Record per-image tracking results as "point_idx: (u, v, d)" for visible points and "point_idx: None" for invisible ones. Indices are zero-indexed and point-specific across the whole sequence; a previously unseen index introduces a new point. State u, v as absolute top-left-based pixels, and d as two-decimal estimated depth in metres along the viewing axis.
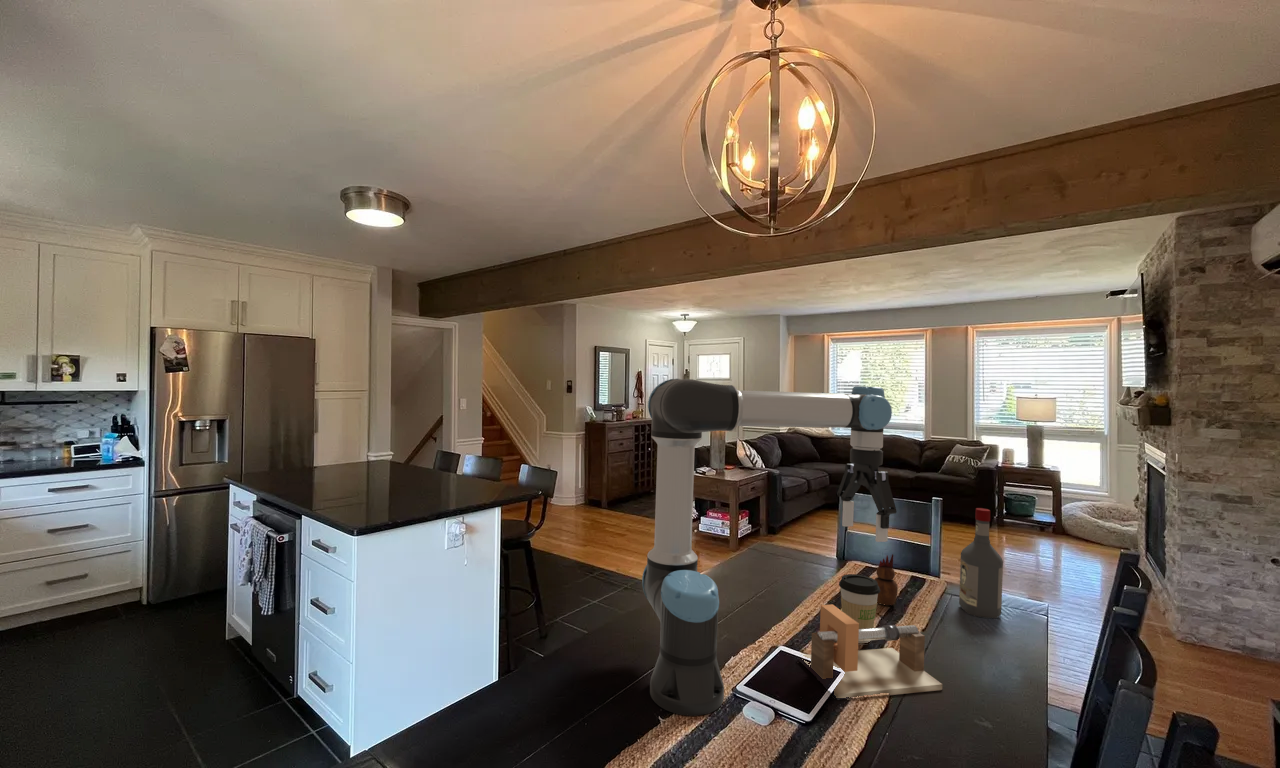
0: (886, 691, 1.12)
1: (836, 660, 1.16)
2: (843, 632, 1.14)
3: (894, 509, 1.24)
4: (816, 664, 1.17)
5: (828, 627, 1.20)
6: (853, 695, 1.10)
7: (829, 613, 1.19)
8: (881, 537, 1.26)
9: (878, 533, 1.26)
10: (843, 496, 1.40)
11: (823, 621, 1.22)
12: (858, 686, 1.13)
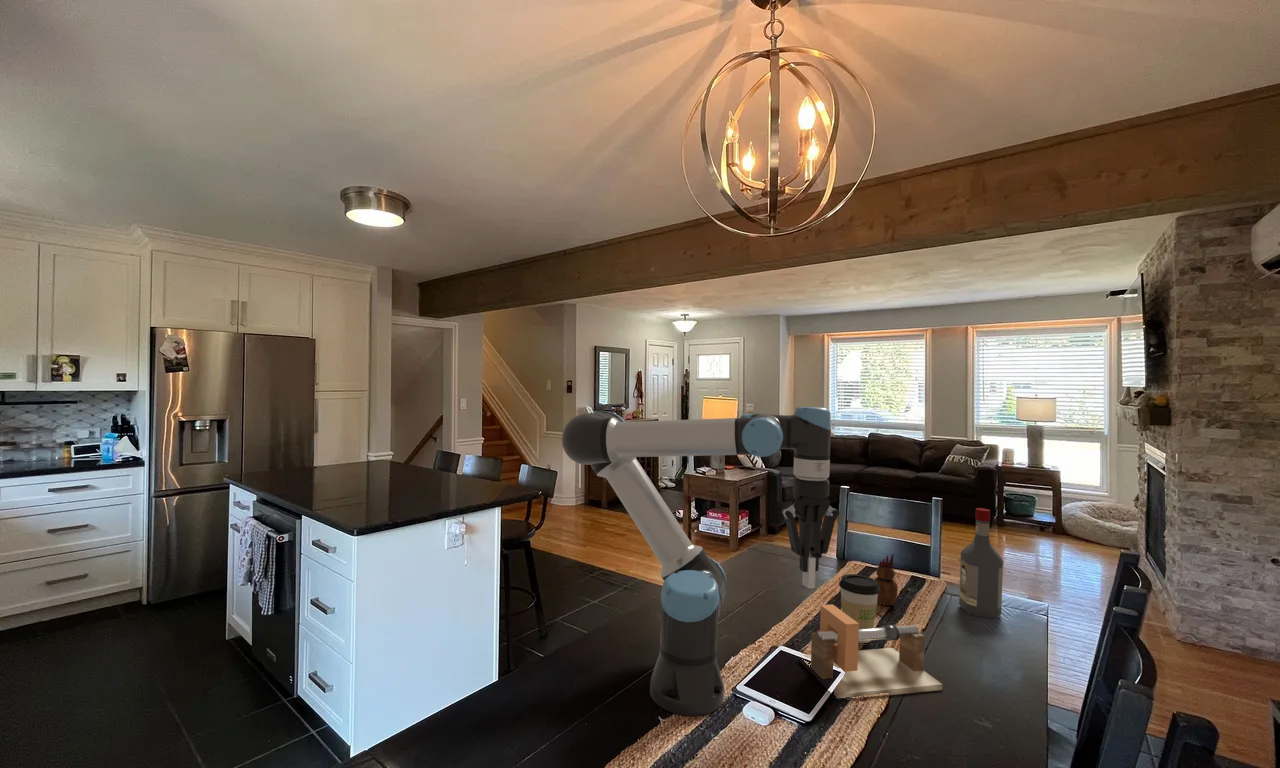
0: (886, 691, 1.12)
1: (836, 660, 1.16)
2: (843, 632, 1.14)
3: (795, 551, 1.15)
4: (816, 664, 1.17)
5: (828, 627, 1.20)
6: (853, 695, 1.10)
7: (829, 613, 1.19)
8: (804, 580, 1.17)
9: (803, 575, 1.17)
10: None
11: (823, 621, 1.22)
12: (858, 686, 1.13)
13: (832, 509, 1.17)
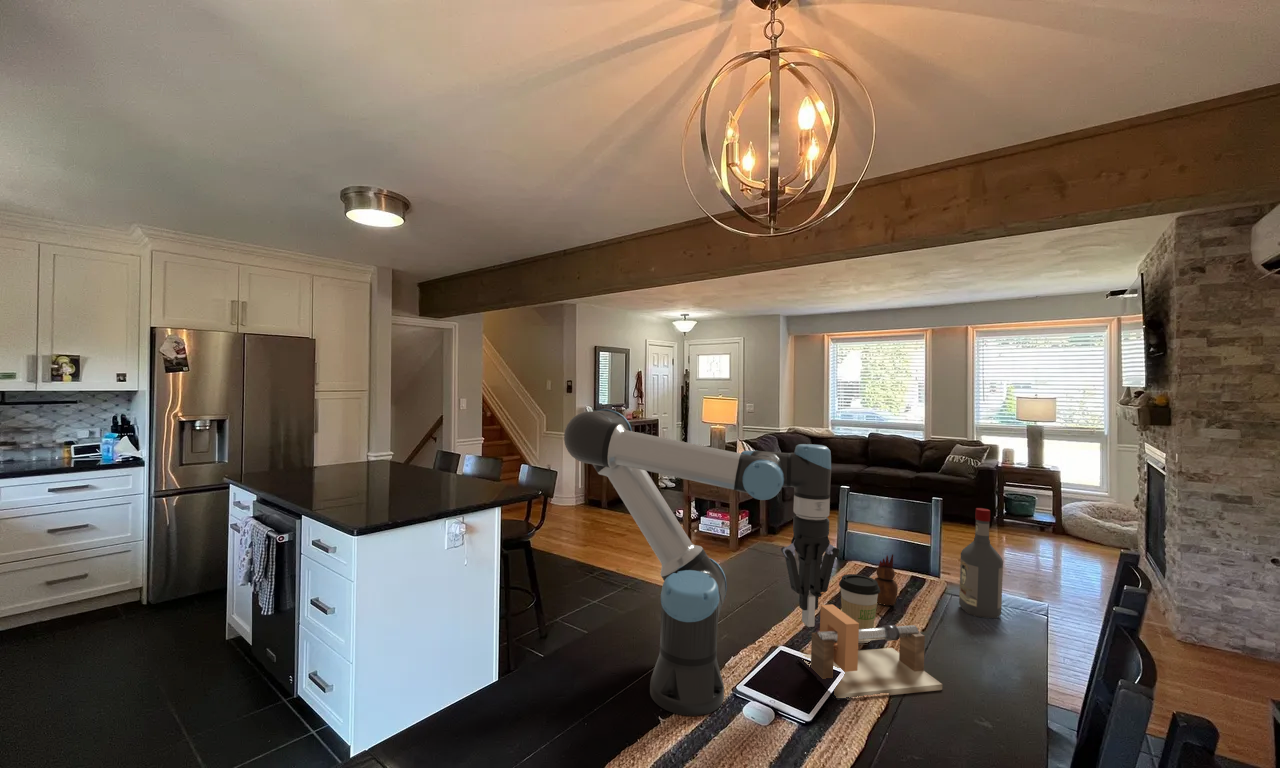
0: (886, 691, 1.12)
1: (836, 660, 1.16)
2: (843, 632, 1.14)
3: (795, 590, 1.15)
4: (816, 664, 1.17)
5: (828, 627, 1.20)
6: (853, 695, 1.10)
7: (829, 613, 1.19)
8: (804, 618, 1.17)
9: (802, 613, 1.18)
10: None
11: (823, 621, 1.22)
12: (858, 686, 1.13)
13: (832, 547, 1.17)
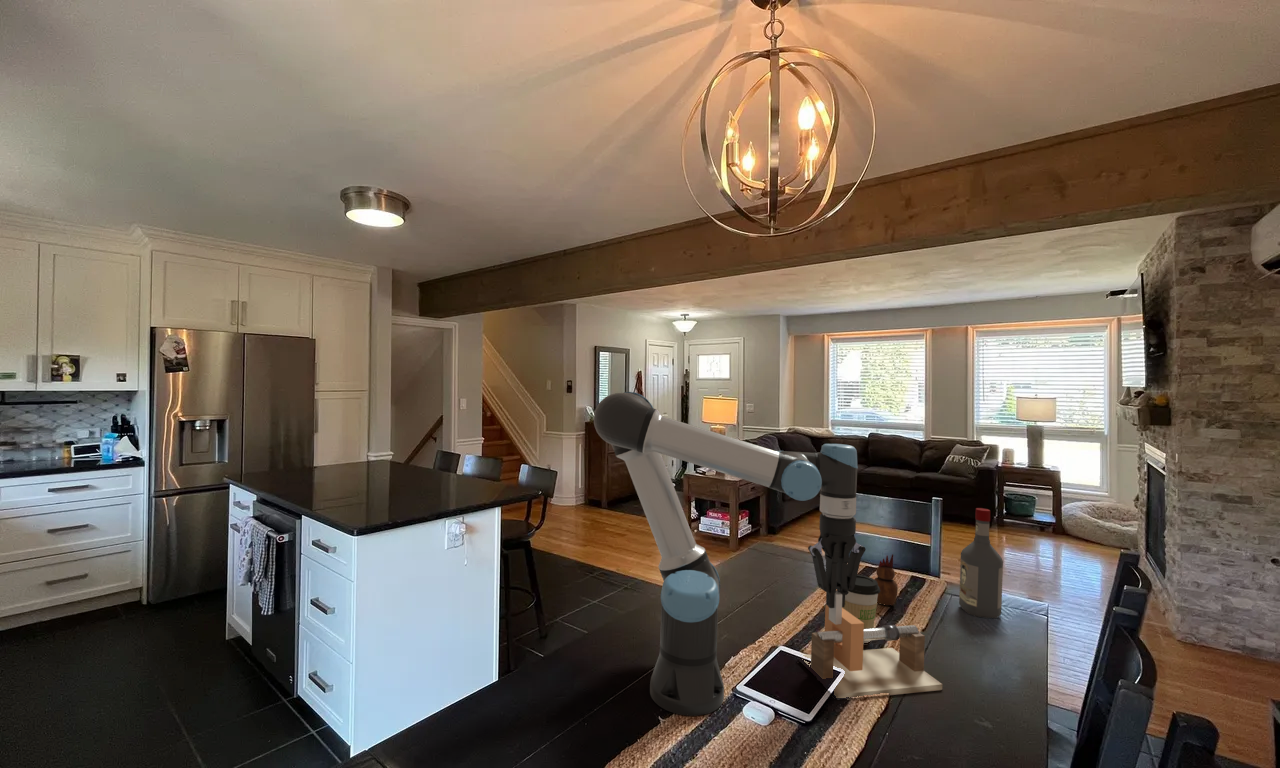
0: (886, 691, 1.12)
1: (841, 660, 1.17)
2: (848, 632, 1.14)
3: (822, 588, 1.16)
4: (816, 664, 1.17)
5: (832, 627, 1.20)
6: (853, 695, 1.10)
7: None
8: (831, 616, 1.18)
9: (829, 611, 1.19)
10: None
11: (828, 620, 1.22)
12: (858, 686, 1.13)
13: (858, 545, 1.19)
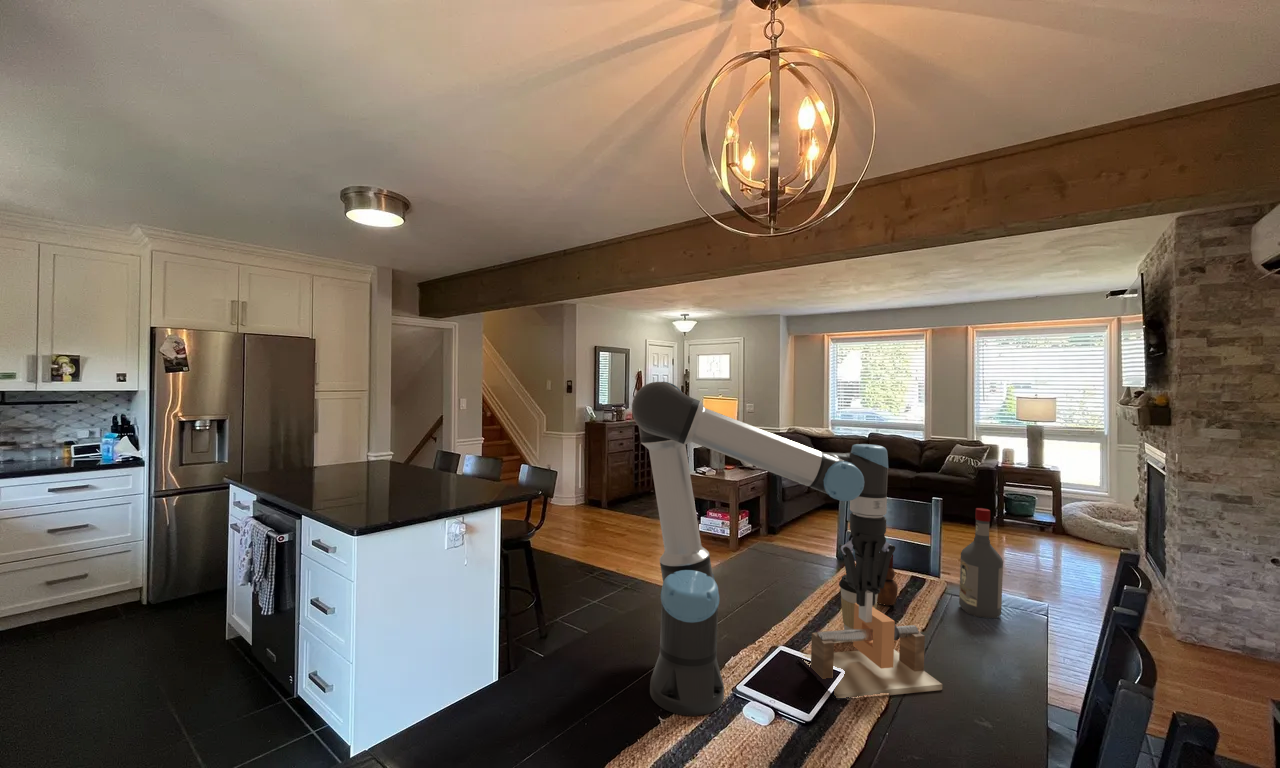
0: (886, 691, 1.12)
1: (871, 657, 1.18)
2: (879, 629, 1.16)
3: (853, 586, 1.18)
4: (816, 664, 1.17)
5: (862, 625, 1.22)
6: (853, 695, 1.10)
7: None
8: (861, 614, 1.20)
9: (859, 609, 1.20)
10: None
11: (857, 618, 1.23)
12: (858, 686, 1.13)
13: (888, 544, 1.20)
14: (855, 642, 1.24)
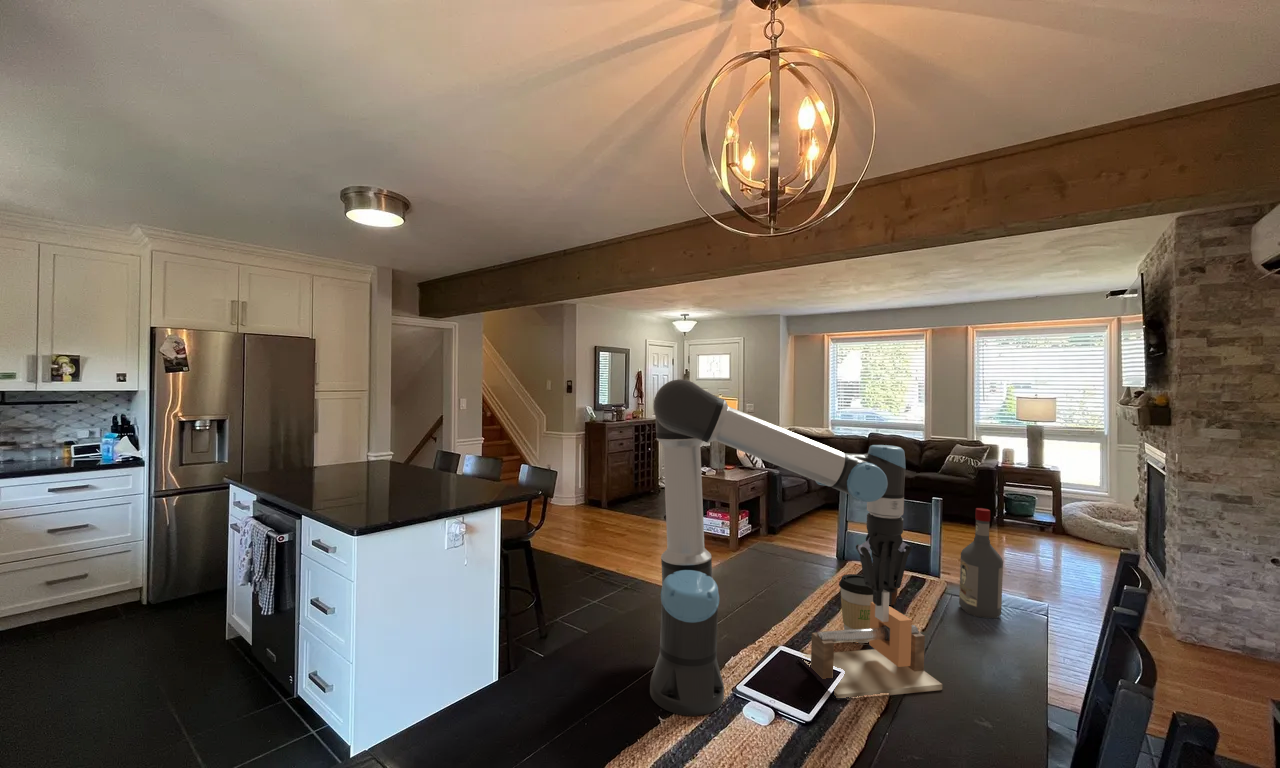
0: (886, 691, 1.12)
1: (888, 656, 1.19)
2: (896, 628, 1.17)
3: (870, 586, 1.19)
4: (816, 664, 1.17)
5: (878, 624, 1.23)
6: (853, 695, 1.10)
7: None
8: (878, 614, 1.21)
9: (876, 608, 1.21)
10: None
11: (874, 617, 1.24)
12: (858, 686, 1.13)
13: (904, 545, 1.21)
14: (872, 640, 1.25)
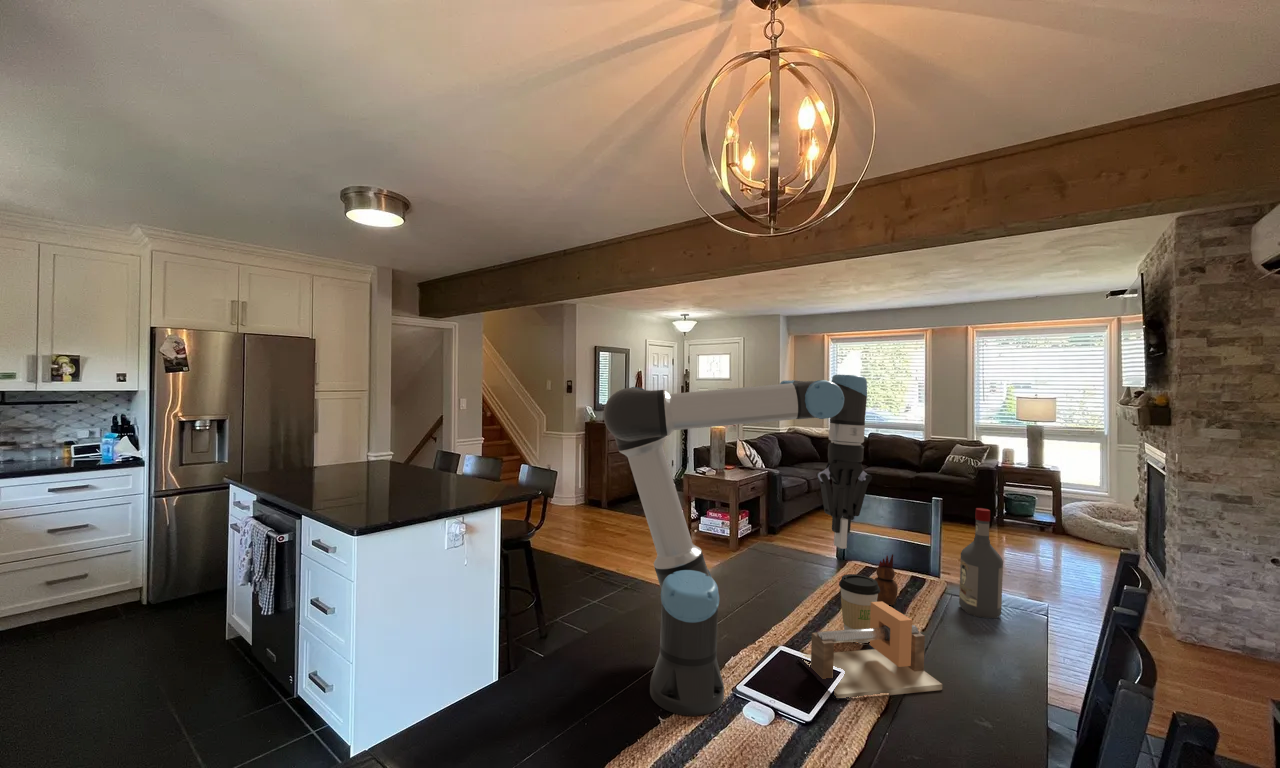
0: (886, 691, 1.12)
1: (888, 656, 1.19)
2: (896, 628, 1.17)
3: (829, 512, 1.20)
4: (816, 664, 1.17)
5: (879, 624, 1.23)
6: (853, 695, 1.10)
7: (880, 610, 1.22)
8: (836, 541, 1.22)
9: (834, 536, 1.22)
10: None
11: (874, 617, 1.24)
12: (858, 686, 1.13)
13: (865, 474, 1.22)
14: (872, 640, 1.25)
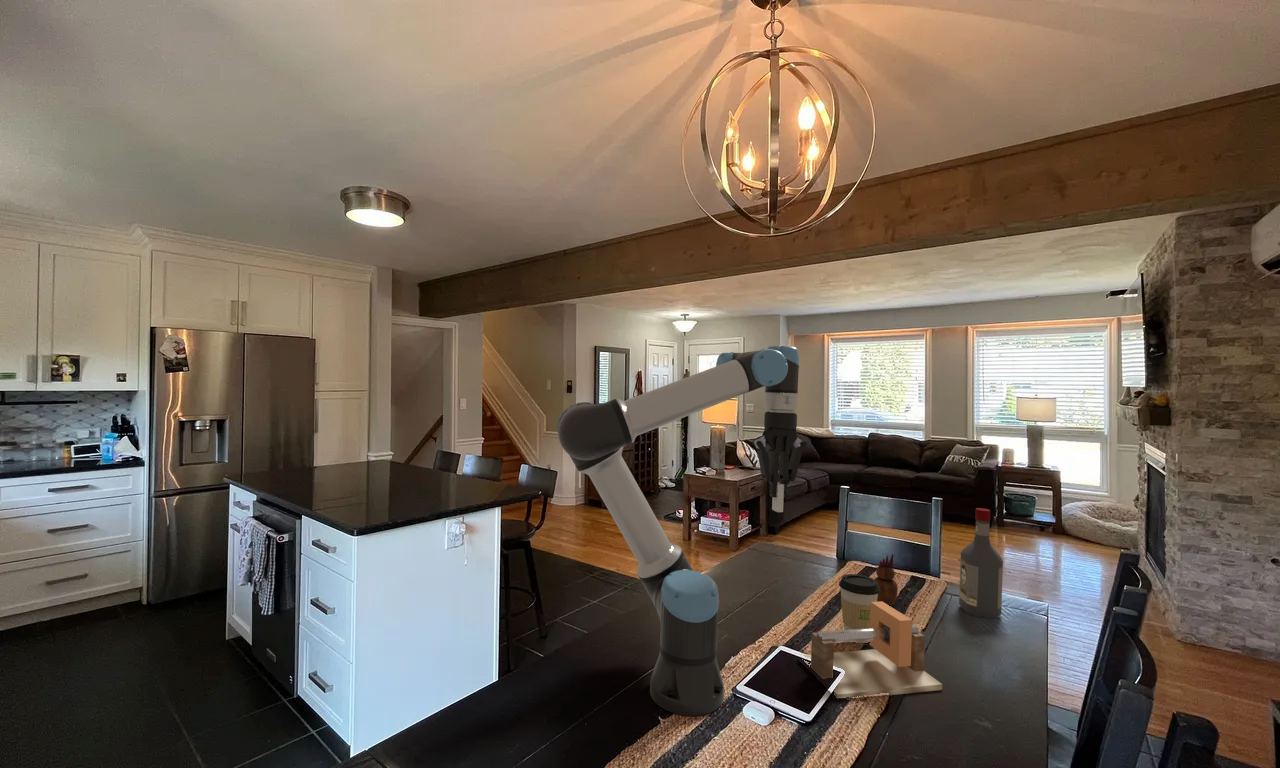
0: (886, 691, 1.12)
1: (888, 656, 1.19)
2: (896, 628, 1.17)
3: (765, 478, 1.25)
4: (816, 664, 1.17)
5: (879, 624, 1.23)
6: (853, 695, 1.10)
7: (880, 610, 1.22)
8: (774, 506, 1.27)
9: (772, 501, 1.28)
10: None
11: (874, 617, 1.24)
12: (858, 686, 1.13)
13: (800, 441, 1.28)
14: (872, 640, 1.25)
